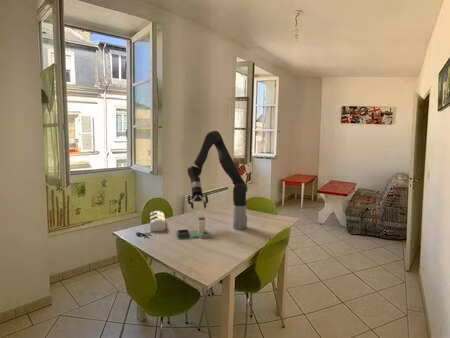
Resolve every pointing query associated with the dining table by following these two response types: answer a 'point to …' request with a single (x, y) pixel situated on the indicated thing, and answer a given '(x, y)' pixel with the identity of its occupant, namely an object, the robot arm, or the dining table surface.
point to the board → (191, 234)
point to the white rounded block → (157, 221)
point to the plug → (201, 225)
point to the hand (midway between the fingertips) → (198, 208)
